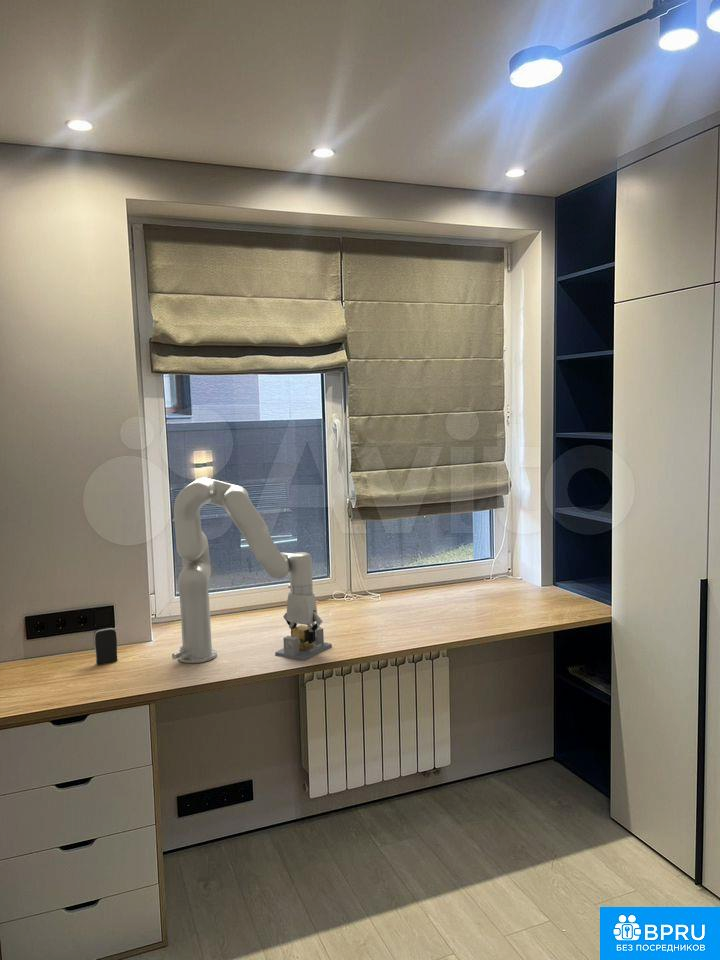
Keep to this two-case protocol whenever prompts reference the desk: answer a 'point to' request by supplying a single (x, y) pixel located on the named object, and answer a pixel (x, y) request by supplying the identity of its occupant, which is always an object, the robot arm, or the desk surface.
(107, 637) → the battery charger
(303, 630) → the yellow rectangular block
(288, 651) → the grey mounting bracket
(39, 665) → the desk surface
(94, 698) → the desk surface
